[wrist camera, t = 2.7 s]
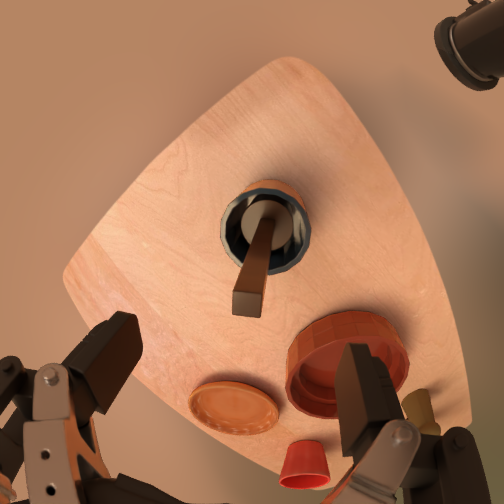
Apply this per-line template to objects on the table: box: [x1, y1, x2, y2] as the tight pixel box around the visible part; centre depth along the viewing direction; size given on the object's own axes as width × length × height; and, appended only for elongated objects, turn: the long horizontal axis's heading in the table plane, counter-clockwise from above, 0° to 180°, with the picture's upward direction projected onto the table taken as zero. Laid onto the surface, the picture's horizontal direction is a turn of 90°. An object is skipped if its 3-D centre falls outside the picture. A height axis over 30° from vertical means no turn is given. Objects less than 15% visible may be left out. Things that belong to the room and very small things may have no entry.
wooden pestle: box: [232, 194, 294, 318], centre depth 21 cm, size 5×5×19 cm
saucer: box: [188, 381, 279, 435], centre depth 42 cm, size 16×16×3 cm
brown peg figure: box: [401, 389, 441, 436], centre depth 34 cm, size 6×6×11 cm
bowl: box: [285, 311, 410, 419], centre depth 34 cm, size 17×17×6 cm
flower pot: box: [279, 440, 330, 489], centre depth 43 cm, size 11×11×10 cm
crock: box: [220, 179, 311, 275], centre depth 27 cm, size 8×8×8 cm
